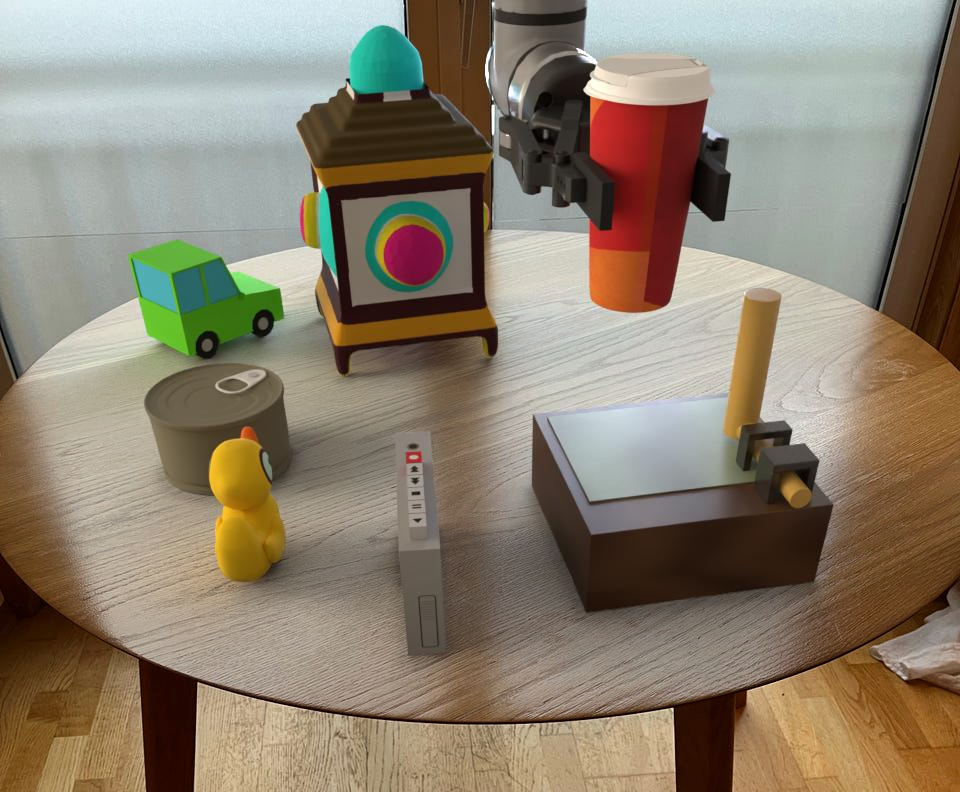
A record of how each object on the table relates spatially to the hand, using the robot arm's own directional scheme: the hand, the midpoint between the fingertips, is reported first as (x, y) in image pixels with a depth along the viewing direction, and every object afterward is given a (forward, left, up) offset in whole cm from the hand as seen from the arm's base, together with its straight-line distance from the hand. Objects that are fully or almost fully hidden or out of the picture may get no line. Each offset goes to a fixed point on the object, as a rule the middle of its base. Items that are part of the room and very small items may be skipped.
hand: (664, 202), depth 59 cm
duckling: (+29, +7, -28) cm, 40 cm away
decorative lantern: (+34, -36, -28) cm, 56 cm away
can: (+39, -6, -28) cm, 48 cm away
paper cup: (+3, -4, -8) cm, 9 cm away
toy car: (+54, -30, -28) cm, 67 cm away
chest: (-1, -7, -27) cm, 28 cm away
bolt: (-8, -7, -20) cm, 23 cm away
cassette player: (+15, +6, -28) cm, 32 cm away
